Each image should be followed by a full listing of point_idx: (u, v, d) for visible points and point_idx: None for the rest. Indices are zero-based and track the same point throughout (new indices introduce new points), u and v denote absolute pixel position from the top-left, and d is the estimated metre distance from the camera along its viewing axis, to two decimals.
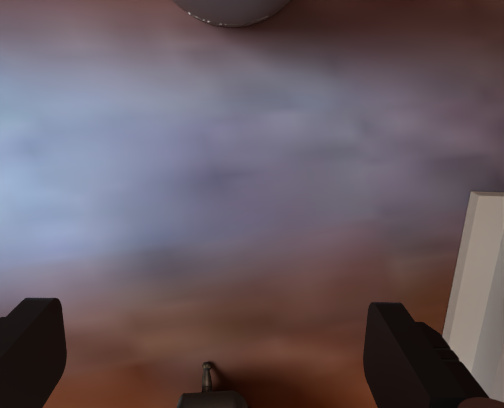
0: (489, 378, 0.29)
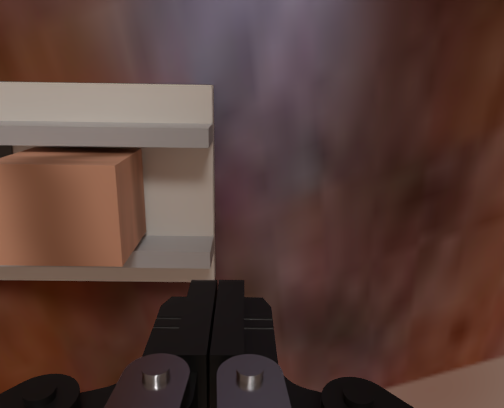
0: None
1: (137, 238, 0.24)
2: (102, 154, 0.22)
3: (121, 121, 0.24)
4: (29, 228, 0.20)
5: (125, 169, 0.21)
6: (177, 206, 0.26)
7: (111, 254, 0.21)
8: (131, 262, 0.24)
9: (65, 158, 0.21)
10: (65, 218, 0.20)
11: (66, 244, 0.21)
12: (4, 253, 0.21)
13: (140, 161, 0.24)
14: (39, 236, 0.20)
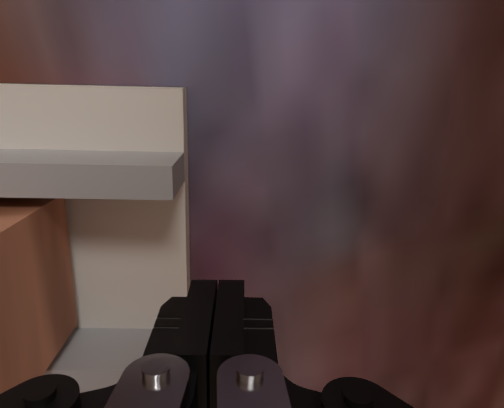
0: None
1: (52, 350, 0.14)
2: None
3: (30, 147, 0.14)
4: None
5: (13, 244, 0.11)
6: (128, 283, 0.16)
7: None
8: None
9: None
10: None
11: None
12: None
13: (61, 215, 0.14)
14: None
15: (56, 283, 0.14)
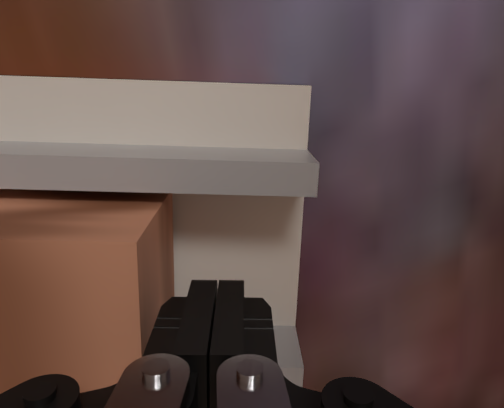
0: None
1: None
2: (108, 205, 0.12)
3: (155, 143, 0.14)
4: None
5: (151, 238, 0.11)
6: (240, 279, 0.16)
7: None
8: None
9: (39, 217, 0.11)
10: (37, 339, 0.10)
11: None
12: None
13: (170, 211, 0.14)
14: None
15: (167, 278, 0.14)
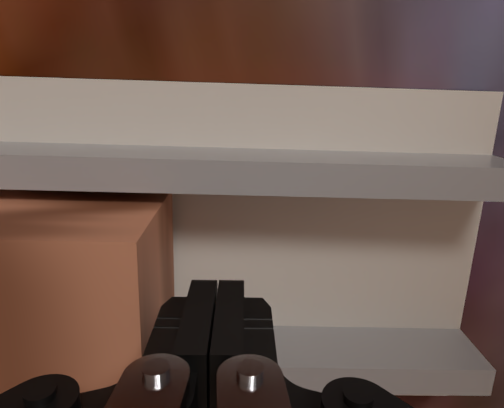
0: (115, 155, 0.13)
1: None
2: (108, 206, 0.12)
3: (343, 149, 0.15)
4: None
5: (151, 238, 0.11)
6: (411, 283, 0.16)
7: None
8: None
9: (39, 218, 0.11)
10: (36, 340, 0.10)
11: None
12: None
13: (170, 211, 0.14)
14: None
15: (167, 279, 0.14)
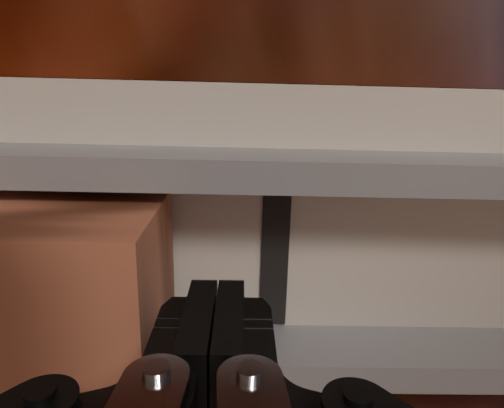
0: (274, 158, 0.13)
1: None
2: (107, 206, 0.12)
3: (478, 151, 0.15)
4: None
5: (151, 239, 0.11)
6: None
7: None
8: (501, 386, 0.14)
9: (38, 219, 0.11)
10: (36, 341, 0.10)
11: None
12: None
13: (169, 211, 0.14)
14: None
15: (167, 279, 0.14)
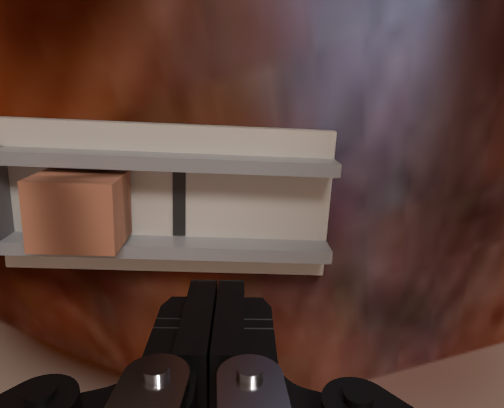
0: (171, 157, 0.31)
1: (125, 236, 0.32)
2: (101, 175, 0.31)
3: (268, 155, 0.33)
4: (49, 227, 0.29)
5: (118, 186, 0.30)
6: (302, 217, 0.35)
7: (107, 247, 0.29)
8: (275, 258, 0.33)
9: (75, 178, 0.29)
10: (75, 221, 0.28)
11: (75, 240, 0.29)
12: (29, 245, 0.29)
13: (129, 179, 0.32)
14: (55, 233, 0.29)
15: (127, 208, 0.32)
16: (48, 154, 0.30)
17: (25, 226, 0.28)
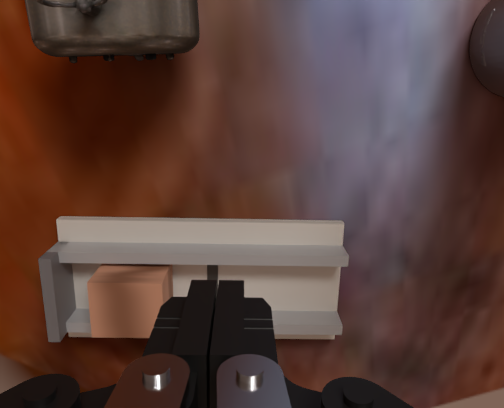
0: (207, 252, 0.37)
1: None
2: (150, 268, 0.37)
3: (287, 244, 0.40)
4: (111, 317, 0.35)
5: (165, 280, 0.36)
6: (316, 293, 0.41)
7: None
8: (294, 331, 0.39)
9: (131, 274, 0.36)
10: (132, 312, 0.35)
11: (132, 326, 0.36)
12: (95, 330, 0.36)
13: (171, 267, 0.39)
14: (116, 321, 0.35)
15: (170, 292, 0.39)
16: (107, 253, 0.37)
17: (92, 316, 0.35)
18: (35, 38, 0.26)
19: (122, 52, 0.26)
